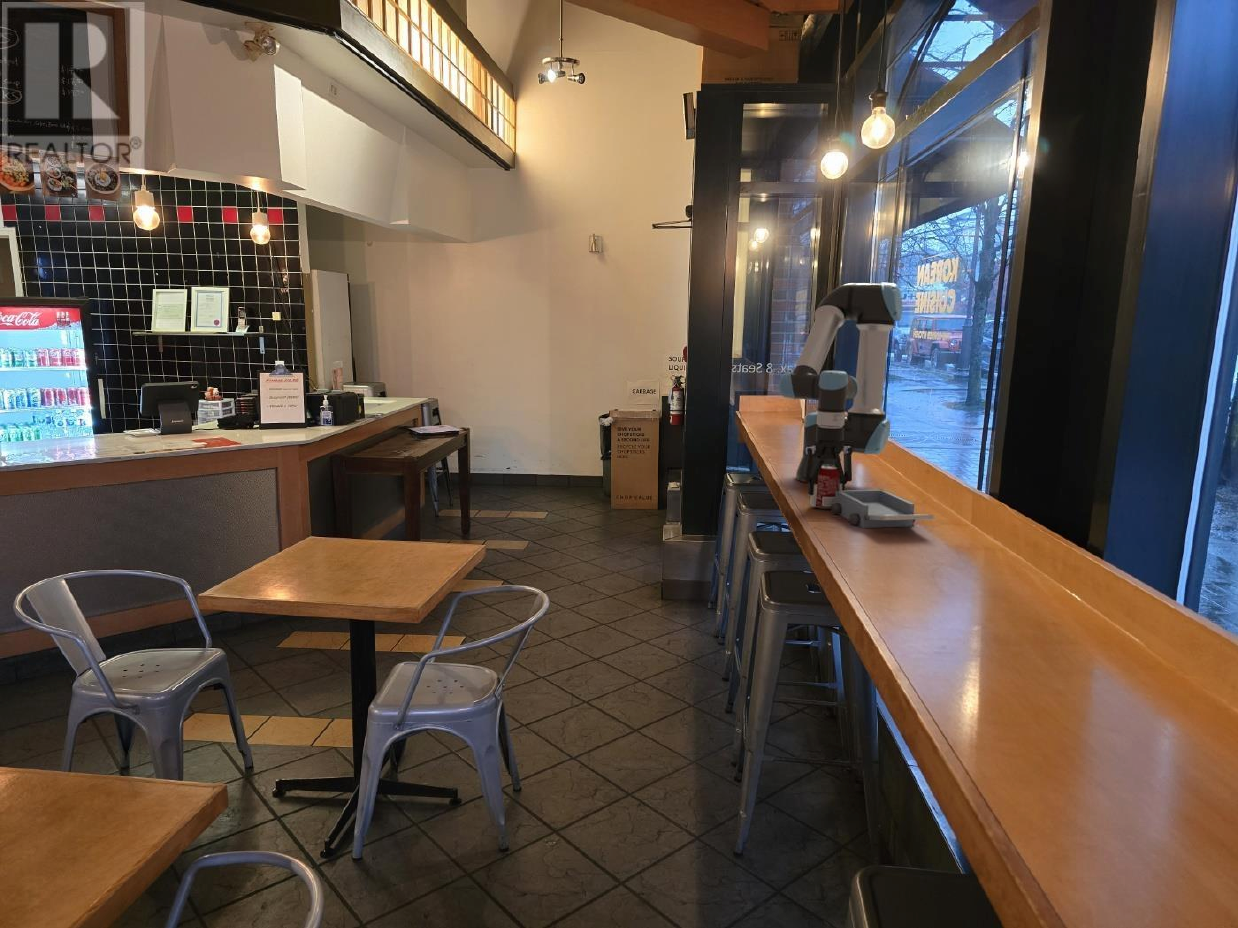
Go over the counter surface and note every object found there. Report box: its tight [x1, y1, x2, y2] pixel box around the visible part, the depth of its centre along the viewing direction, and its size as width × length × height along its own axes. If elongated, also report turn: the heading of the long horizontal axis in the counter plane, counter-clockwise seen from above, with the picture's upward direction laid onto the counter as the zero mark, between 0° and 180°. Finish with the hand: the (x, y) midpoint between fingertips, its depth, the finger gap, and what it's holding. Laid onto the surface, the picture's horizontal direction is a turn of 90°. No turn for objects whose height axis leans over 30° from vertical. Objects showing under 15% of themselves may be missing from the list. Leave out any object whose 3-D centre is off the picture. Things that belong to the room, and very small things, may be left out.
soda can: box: [815, 465, 840, 510], centre depth 211 cm, size 7×7×12 cm
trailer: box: [830, 488, 916, 529], centre depth 201 cm, size 17×17×6 cm
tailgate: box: [865, 513, 935, 520], centre depth 188 cm, size 1×14×10 cm
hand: (825, 505), depth 212 cm, fingers closed on soda can, 7 cm apart
